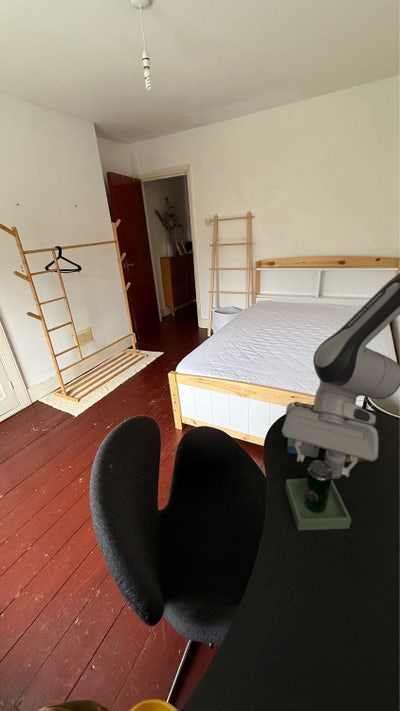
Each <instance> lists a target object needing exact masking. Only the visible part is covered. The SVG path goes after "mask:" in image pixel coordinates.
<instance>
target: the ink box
mask: <svg viewBox="0 0 400 711" xmlns="http://www.w3.org/2000/svg"><path fill="white" fill-rule="evenodd" d="M295 442H296V440H292V439H289V438H287V448H286V451H287V453H289V454H292V455H298V453H297V450H296V447H295ZM299 447H300V446H299ZM300 450H301V454H302V455H304V456H305V457H311V458H316V459H317V458H319V453H320V452H319V450H320V447H317V446H314V445H310V444H306V443H303V444H302V447H300Z"/></svg>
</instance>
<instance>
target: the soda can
mask: <svg viewBox="0 0 400 711" xmlns="http://www.w3.org/2000/svg"><path fill="white" fill-rule="evenodd" d="M305 479H306V486H305V495H304V504H305V506H306V507H307V508H308V509H309V510H310V511H312V512H314V513H322V512H324V511H325V510H326V508H327V502H328V496H329V490H330V485H331V479H332V480H333V478H332V472H331V469H330V467H329V465H328V464H326V463H325V462H324V461H322V460H314V461H312V462H310V463H309V465H308V466H307V470H306V478H305Z"/></svg>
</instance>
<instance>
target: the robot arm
mask: <svg viewBox="0 0 400 711" xmlns="http://www.w3.org/2000/svg"><path fill="white" fill-rule="evenodd" d="M399 316H400V272H399V273H398V274H396V275H394V276H393V277H392V278H391V279H390V280H388V281H387V282H386V283H385V284H384V285H383V286H382V287H381V288H380V289H379V290H378V291H377V292H376V293H375V294H373V295H372V297H371V298H370V299H368V301H367V302H365V304H364V305H362V307H360V309H359V310H358V311H357V312H356V313H355V314H354V315H352V317H350V319H348V320H347V321H346V323H344V325H343V326H341V328H340V329H338V330H337V331H336V332H335V333H333V334H332V335H331V336H329V337H328V338H327V339H325V340H323V341H322V343H321V344H320V345H319V346H318V347H317V348H316V349H315V351H314V354H313V358H312V360H313V367H314V371H315V374H316V376H317V377H318V379H319V385H318V387H317V389H316V392H315V396H314V400H313V404H309V403H303V402H300V401H294V402H289V404H287V406H286V410H285V416H286V418H285V420H284V422H283V426H282V429H281V434H282V435H283V437H284V438H286V439H288V438H289V439H292V440H296V442H295V447H296V450H297V453H298V454H297V457H296V462H297V463H300V464H304V463H305V459H306V456H304V455H302V454H301V450H300V447H302V444H303V443H306V444H310V445H314V446H317V447H319V448H320V449H325V450H331V451H335V452H338V453H342V454H345V455H349V456H350V461H351V462H350V464H349V465H348V466H347V467H345V466H344V467H343V468H342V471H343V472H342V473H341V475H342V476H341V477H345V478H349V477H350V471H351V470H352V469H353V468H354V466H355V465H357V463H358V461H357V460H358V458H360V459H363V460H367V461H366V462H370V463H372V462H375V461H376V460H378V457H379V447H380V446H379V433H378V430H377V429H376V427H375V425H376V422H377V418H376V415H375V414H373V413H372V412H370V411H368V410H366V409H365V408H362V407H360V406H358V405H357V398H358V397H360V396H361V397H365V398H369V399H373V400H386V399H387V398H390V397H392V396H393V395H394V394H395V393H396V392H397V391H398V390H399V388H400V364H399V363H398V362H397V361H395V360H394V359H393V358H391V357H389V356H386V355H384V354H383V353H380V352H378V351H375V350H373V349H371V348H368V347H366V346H368V344H370V342H371V341H373V340H374V339H375V338H376V337H377V336H378V335H379V334H380V333H381V332H382V331H383V330H384V329H386V327H387V326H388V325H390V324H391V323H392V322H393V321H394V320H395V319H396V318H397V317H399ZM299 446H300V447H299ZM352 461H353V462H352Z"/></svg>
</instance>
